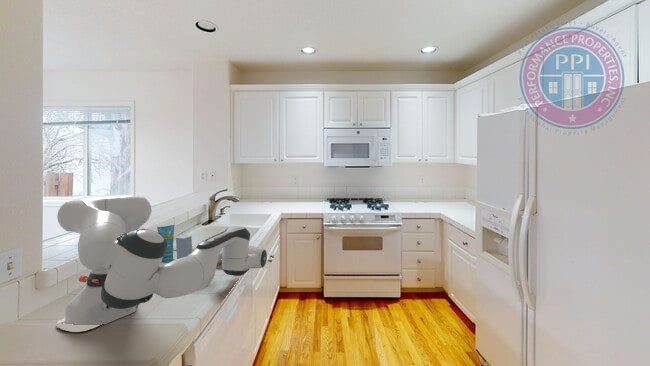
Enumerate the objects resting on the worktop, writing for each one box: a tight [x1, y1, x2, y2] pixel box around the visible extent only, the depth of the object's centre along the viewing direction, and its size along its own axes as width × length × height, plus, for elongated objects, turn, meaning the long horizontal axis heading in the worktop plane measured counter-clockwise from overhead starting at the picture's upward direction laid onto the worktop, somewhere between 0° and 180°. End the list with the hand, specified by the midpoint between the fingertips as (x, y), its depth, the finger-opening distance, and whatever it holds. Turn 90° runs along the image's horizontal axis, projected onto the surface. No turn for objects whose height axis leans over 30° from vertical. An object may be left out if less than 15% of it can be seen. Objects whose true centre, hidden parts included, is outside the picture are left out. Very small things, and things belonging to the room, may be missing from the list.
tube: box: [157, 224, 175, 263], centre depth 150 cm, size 7×5×19 cm, turn 134°
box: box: [175, 234, 193, 259], centre depth 139 cm, size 4×4×16 cm
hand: (205, 251), depth 134 cm, fingers open, 8 cm apart
